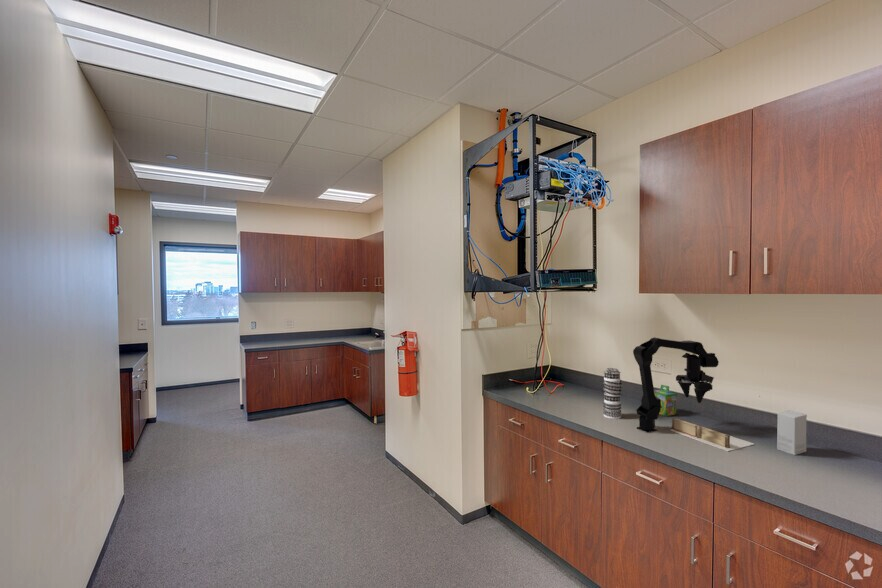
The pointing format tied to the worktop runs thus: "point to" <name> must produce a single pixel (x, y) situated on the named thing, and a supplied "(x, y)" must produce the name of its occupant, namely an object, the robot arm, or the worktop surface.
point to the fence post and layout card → (732, 446)
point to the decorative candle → (612, 393)
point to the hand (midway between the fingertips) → (693, 400)
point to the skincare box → (791, 432)
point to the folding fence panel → (716, 437)
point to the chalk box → (667, 401)
